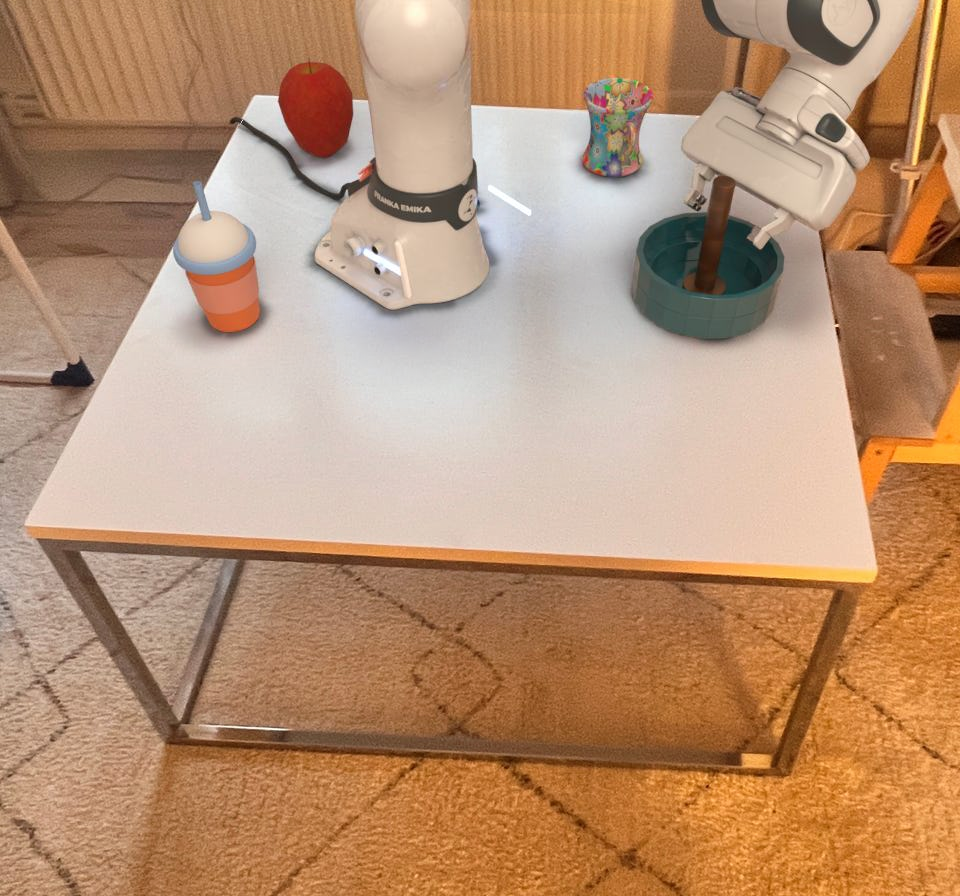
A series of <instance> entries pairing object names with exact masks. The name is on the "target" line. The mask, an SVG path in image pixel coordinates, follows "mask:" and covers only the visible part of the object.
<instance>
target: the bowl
mask: <svg viewBox="0 0 960 896" xmlns="http://www.w3.org/2000/svg"><path fill="white" fill-rule="evenodd" d="M706 217H707V211H696V212H684V213H683V212H682V213H680V214H679V213H678V214H675V215H672V216H667V217H664V218H662V219H660V220H658V221H657V222H655V223H653V224H651V225H649V226H648V227H647V229H646V230H644V232H643V233H642V234H641V236H639V238H638V242H637V245H636V249H635V257H634V266H633V272H632V280H631V281H632V282H631V292H632V293H631V294H632V297H633V300H634V304H635V305H636V306H637V308H638V309H639V310H640V312H641V313H642V314H643V315H644V316H645V317H646V318H647V319H649V320H650V321H652V322H653V323H655V324H656V325H658V326H659V327H661V328H662V329H664V330H667V331H670V332H673V333H675V334H678V335H681V336H685V337H691V338H699V339H705V340H713V339H729V338H733V337H738V336H740V335H744V334H747V333H751V332H752V331H753V330H755V329H756V328H758V327H760V326H761V325H763V324H764V323H766V321H767V320H768V318H769V317H770V315H771V314H772V312H773V311H774V308H775V303H776V300H777V296H778V292H779V289H780V285H781V283H782V278H783V274H784V269H785V258H786V257H785V255H784V252H783V250H782V248H781V246H780V243H779V242H778V241H777V240H776V239H775V238H774V236H773V237H770V239H769V240H768V241H767V243H766V244H765V245H764V247H763V248H762V249H758V248H756V247H755V246H753V245H752V244H750V243H749V242H748V241H747V240H746V238H747V236H748V235H749V234H750V233H751V230H752V229H753V228H754V226H757V225H756V224H755V223H753V222H750V221H749V220H745V219H742V218H740V217H736V216H733V215H730V214H729V219H728V224H727V229H726V233H725V238H724V243H723V248H722V253H721V258H720V263H719V268H718V272H717V276H719V277H721V278H722V279H723V280H724V282H725V284H726V289H725V294H724V295H710V294H703V293H696V292H691V291H688V290H685V289H682V286H683V281H684V279H685V277H686V276H688V275H689V274H691V273H695V272H696V271H697V265H698V260H699V255H700V249H701V244H702V238H703V233H704V227H705V222H706ZM757 227H759V228H761V227H760V226H757Z"/></svg>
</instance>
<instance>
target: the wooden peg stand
mask: <svg viewBox="0 0 960 896" xmlns="http://www.w3.org/2000/svg"><path fill="white" fill-rule="evenodd" d="M735 185H736V181H735V180H734V179H733V178H731V177H729V176H718V175H717V176H715V177H713V179H712V185H711V190H710V196H709V201H708V207H707V211H706V212H707V217H706V222H705V227H704V233H703V238H702V244H701V249H700V255H699V260H698V265H697V271H696V272H695V273H691V274H689V275H688V276H686V277H685V279H684V281H683V286H682V289H685V290H688V291H691V292H696V293H703V294H710V295H724V294H725V289H726V284H725V282H724V280H723V279H722V278H721V277H719V276H717V272H718V268H719V263H720V258H721V253H722V248H723V243H724V238H725V233H726V229H727V224H728V219H729V215H730V214H731V210H732V203H733V199H734V194H735V190H736V186H735Z"/></svg>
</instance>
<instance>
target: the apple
mask: <svg viewBox="0 0 960 896" xmlns="http://www.w3.org/2000/svg"><path fill="white" fill-rule="evenodd" d="M353 96H354V95H353V91H352V89H351V88H350V86H349V84H348V82H347V81H346V78H345V77H344V75H343V74H341V72H340V71H338V70H337V69H336V68H335V67H333V66H331V64H328V63H325V62H317V61H311V60H310V58H308V61H307V62H301V63H298V64H296V65H294V66H292V67H291V68H290V69H288V70H287V73H286V74H285V75H284V77H283V78H282V79H281V82H280V86H279V91H278V97H277V98H278V99H277V103H278V107H279V108H280V112H281V115H282V118H283V121H284V124H285V126H286V127H287V130H288V131H289V133H290V134H291V136H292V137H293V139H294V141H295V142H296V144H297V145H298V147H299V148H301V149H302V150H303V151H305V152H307V153H309V154H310V155H311V156H313V157H316V158H322V159H323V158H324V159H325V158H329V157H332V156H334V155H335V154H336V153H337V152H338V151H340V149H341V148H343V147H344V146H345V145H346V144H347V143H348V141H349V137H350V132H351V127H352V122H353V119H354V99H353Z"/></svg>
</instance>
